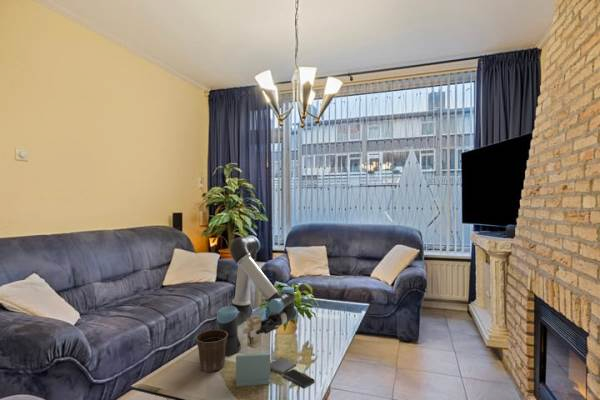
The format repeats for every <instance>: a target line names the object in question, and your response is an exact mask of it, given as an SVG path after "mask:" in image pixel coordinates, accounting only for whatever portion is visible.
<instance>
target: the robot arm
mask: <svg viewBox="0 0 600 400" xmlns="http://www.w3.org/2000/svg"><path fill="white" fill-rule="evenodd" d="M260 249H261V242H260V240H259V239H258V238H257V237H256V236H255V235H244V236H239V237H236V238H234V239H233V240H232V241H231V242H230V244H229V253H230V256H231V258H232V260H233V261H234V262H235V264H236V266H237V273H236V274H237V275H236V281H235V282H236V284H235V292H234V298H233V299H232V300H231V305H228V306H223V307H221V308H220V309H219V310H218V311H217V313H216V330H223V331H226V332H227V333H228V337H227V342H226V349H225V356H230V355H235V354H237V353H238V352H240V351H241V349H242V346H241V340H240V338H239V333H238V331H239V327H240V326H241V325H242V324H244V323H247V318H250V317H252V316H253V313H254V309H253V306H252V304H251V303H252V301H251V300H250V292H251V291H250V290H251V282H252V283H253V284H254V286H255V287H256V288H257V289H258V291H259V292H260V294H261V295H262V296H263V297H264V299H265V300H266V301H267V303H268V305H267V306H268V309H269V312H271V314H269V315H268V316H267V318H265V319H264V318H263V319H262V317H260V318H261V329H260V328H257V329H255V330H253V331H251V332H250V337H253V336H256V335H258V334H260V333H261V334H266V335H267V334H269V333H271V332H273V331H274V330H277V329H279V327H281V326H283V325H284V324H287V323H289V322H291V321H293V320H296V319H297V317H298V316H299V311H298V308H297V307H296V306H295V288H294V287H292V286H284V287H282V288H281V291H280V292H278V290H277V288H275V286H274V285H273V283H272V281H270V279H269V278H268V277H267V276H266V274H264V271H262V269H261V268H260V266H258V264H257V263H256V262H255V261H256V259H257V253H258V252H259V251H260ZM241 333H242V335H247V326H246V327H244V328H242V329H241Z"/></svg>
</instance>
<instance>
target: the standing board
mask: <svg viewBox="0 0 600 400" xmlns="http://www.w3.org/2000/svg"><path fill="white" fill-rule="evenodd" d="M270 363H271V354H270V353H256V354H255V353H254V354H238V355H235V387H245V386H247V387H248V386H260V385H262V386H263V385H270V384H271V369H270Z"/></svg>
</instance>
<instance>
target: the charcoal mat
mask: <svg viewBox="0 0 600 400" xmlns="http://www.w3.org/2000/svg"><path fill="white" fill-rule="evenodd" d="M296 366H297V363H295V362H294V361H290V360H288V359H285V358H282V357H278V358H277V359H275V360H273V361H272V362H270V371H274V372H276V373H279V374H282V375H283V374H285V373H287V372H289V371H290V370H292V369H293V368H294V367H296Z"/></svg>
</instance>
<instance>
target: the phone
mask: <svg viewBox="0 0 600 400" xmlns="http://www.w3.org/2000/svg"><path fill="white" fill-rule="evenodd" d="M282 375H283V378H285V379H287V380H288V381H291V382H292V383H293V384H296V385H298V386H299V387H301V388H304V389H306V388H307V387H309V386H311V385H312V384H315V379H314V378H313V377H310V376H309V375H306V374H305V373H303V372H300V371H298V370H296V369H293V368H292V369H290V370H288V371H287V372H285V373H284V374H282Z"/></svg>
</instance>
